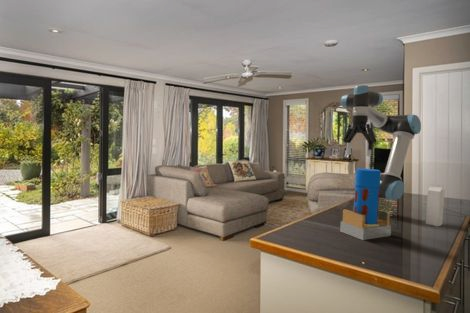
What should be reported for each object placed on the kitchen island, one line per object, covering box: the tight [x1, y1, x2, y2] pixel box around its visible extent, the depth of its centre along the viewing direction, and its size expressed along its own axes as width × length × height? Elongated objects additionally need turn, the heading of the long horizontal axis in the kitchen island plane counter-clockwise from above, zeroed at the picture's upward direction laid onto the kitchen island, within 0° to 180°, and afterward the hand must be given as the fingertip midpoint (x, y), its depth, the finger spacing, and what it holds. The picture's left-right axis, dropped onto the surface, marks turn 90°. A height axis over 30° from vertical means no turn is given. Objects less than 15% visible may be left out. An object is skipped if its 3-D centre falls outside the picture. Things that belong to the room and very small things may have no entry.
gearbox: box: [339, 208, 392, 241], centre depth 150 cm, size 14×18×11 cm
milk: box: [425, 183, 445, 227], centre depth 171 cm, size 6×6×22 cm
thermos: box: [353, 168, 382, 225], centre depth 149 cm, size 11×11×25 cm
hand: (358, 155), depth 167 cm, fingers open, 13 cm apart
